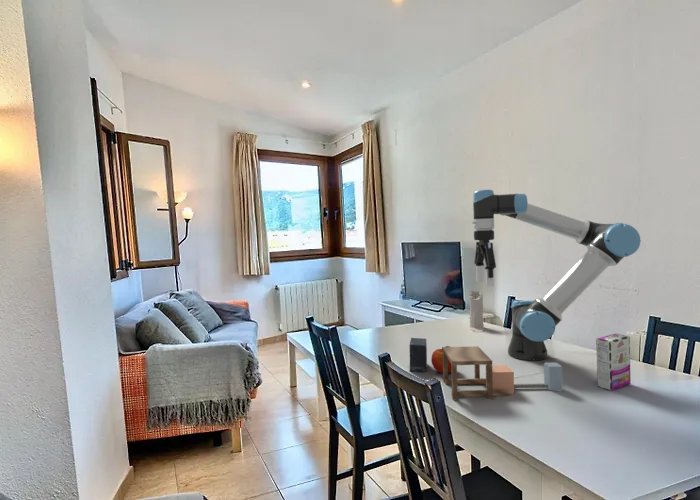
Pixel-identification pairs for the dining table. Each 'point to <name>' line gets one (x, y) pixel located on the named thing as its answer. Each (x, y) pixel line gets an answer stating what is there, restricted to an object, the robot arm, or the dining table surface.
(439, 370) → the fruit
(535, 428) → the dining table surface
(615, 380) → the candy bar box
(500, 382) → the block barbell
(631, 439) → the dining table surface
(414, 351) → the small box
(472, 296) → the beige paper bag
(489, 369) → the shelf
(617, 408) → the dining table surface
